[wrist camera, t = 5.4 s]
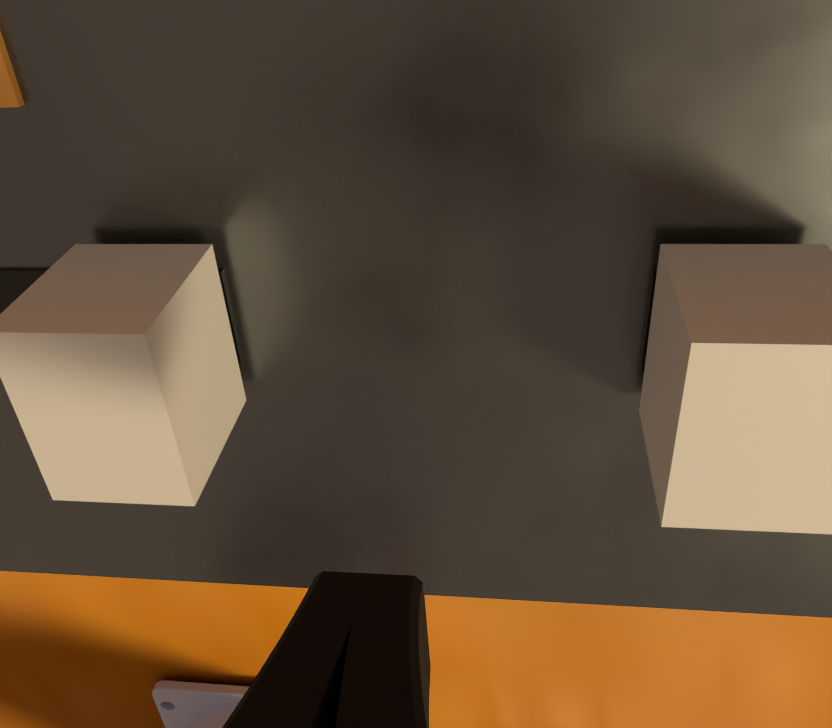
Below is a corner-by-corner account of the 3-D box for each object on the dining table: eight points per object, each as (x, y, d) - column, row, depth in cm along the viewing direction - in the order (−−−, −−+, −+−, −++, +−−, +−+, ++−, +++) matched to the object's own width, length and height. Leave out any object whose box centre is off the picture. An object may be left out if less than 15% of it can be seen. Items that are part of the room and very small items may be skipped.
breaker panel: (942, 579, 22) (970, 631, 20) (-356, 514, 27) (-405, 552, 26) (1330, -248, 12) (1441, -258, 10) (-866, -96, 17) (-992, -89, 15)
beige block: (782, 413, 17) (834, 534, 14) (638, 410, 17) (661, 526, 14) (826, 244, 15) (898, 345, 12) (660, 244, 15) (691, 343, 12)
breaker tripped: (246, 399, 18) (195, 506, 16) (124, 396, 19) (52, 500, 16) (212, 244, 16) (144, 334, 13) (75, 244, 17) (-19, 332, 14)
